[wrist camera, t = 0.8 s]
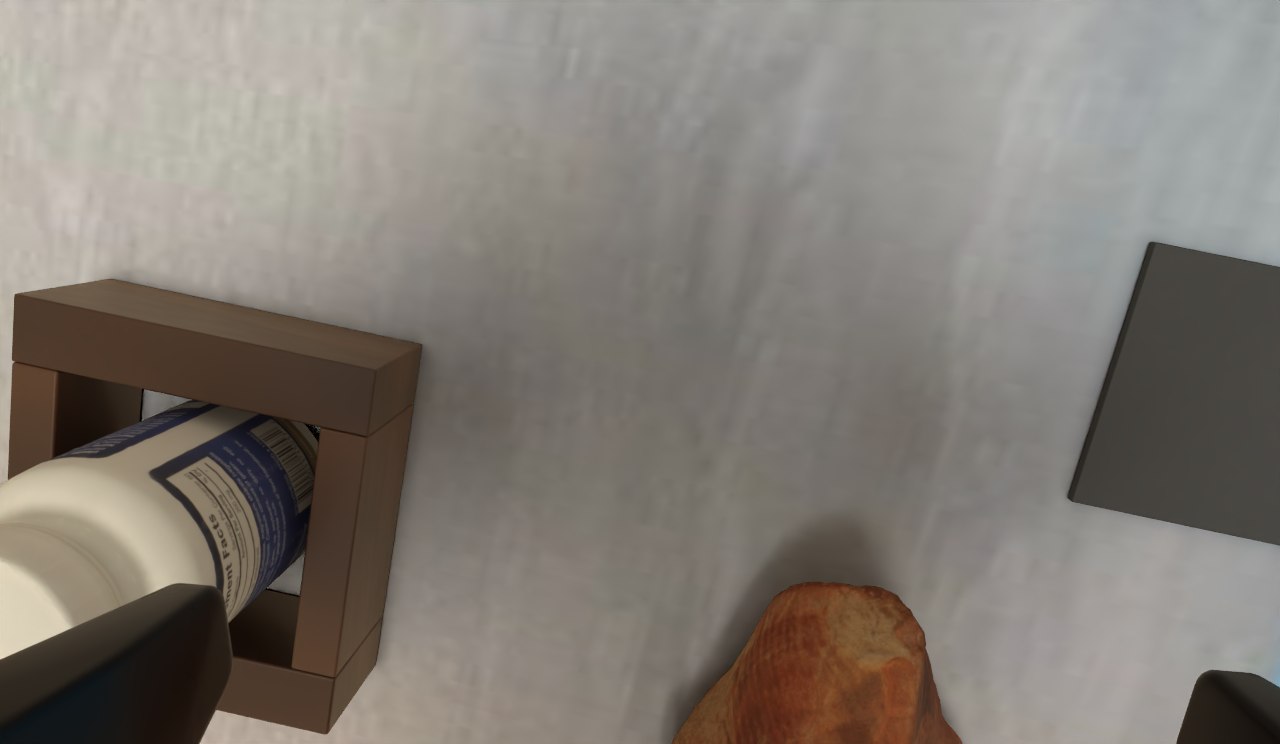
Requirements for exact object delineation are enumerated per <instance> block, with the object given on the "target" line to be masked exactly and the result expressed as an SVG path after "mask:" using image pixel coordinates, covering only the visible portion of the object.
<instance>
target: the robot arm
mask: <svg viewBox="0 0 1280 744" xmlns="http://www.w3.org/2000/svg"><path fill="white" fill-rule="evenodd" d="M232 667H233V653H232V646H231V639H230V632H229V625H228V618H227V611H226V605H225V600H224V596H223V594H222V592H221V591H220V590H219V589H218V588H216V587H215V586H210V585H198V584H187V583H175V584H171V585H168V586H166V587H164V588H162V589H159V590H157V591H155V592H153V593H150V594H148V595H146V596H143V597H141V598H139V599H137V600H134V601H132V602H130V603H128V604H125V605H123V606H121V607H118V608H116V609H114V610H112V611H109V612H107V613H105V614H103V615H100V616H98V617H96V618H93V619H91V620H89V621H87V622H84V623H82V624H80V625H78V626H75V627H73V628H71V629H68V630H66V631H64V632H62V633H59V634H57V635H55V636H52V637H50V638H48V639H46V640H43V641H41V642H39V643H37V644H34V645H32V646H30V647H27V648H25V649H23V650H21V651H18V652H16V653H14V654H12V655H9V656H7V657H5V658H2V659H0V744H199V743H200V741H201V739H202V737H203V735H204V733H205V731H206V729H207V727H208V725H209V723H210V721H211V719H212V716H213V714H214V712H215V710H216V708H217V706H218V704H219V702H220V700H221V698H222V696H223V694H224V692H225V690H226V687H227V685H228V683H229V680H230V677H231V673H232ZM1177 744H1280V687H1278V686H1276V685H1275V684H1273V683H1271V682H1269V681H1268V680H1266V679H1264V678H1262V677H1260V676H1258V675H1255V674H1252V673H1244V672H1232V671H1220V670H1209V671H1207V672H1204V673H1203V674H1201V676H1200V677H1199V678H1198V679H1197V681H1196V684H1195V686H1194V689H1193V692H1192V695H1191V698H1190V701H1189V705H1188V708H1187V711H1186V714H1185V717H1184V720H1183V723H1182V726H1181V729H1180V732H1179V735H1178V739H1177Z"/></svg>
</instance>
